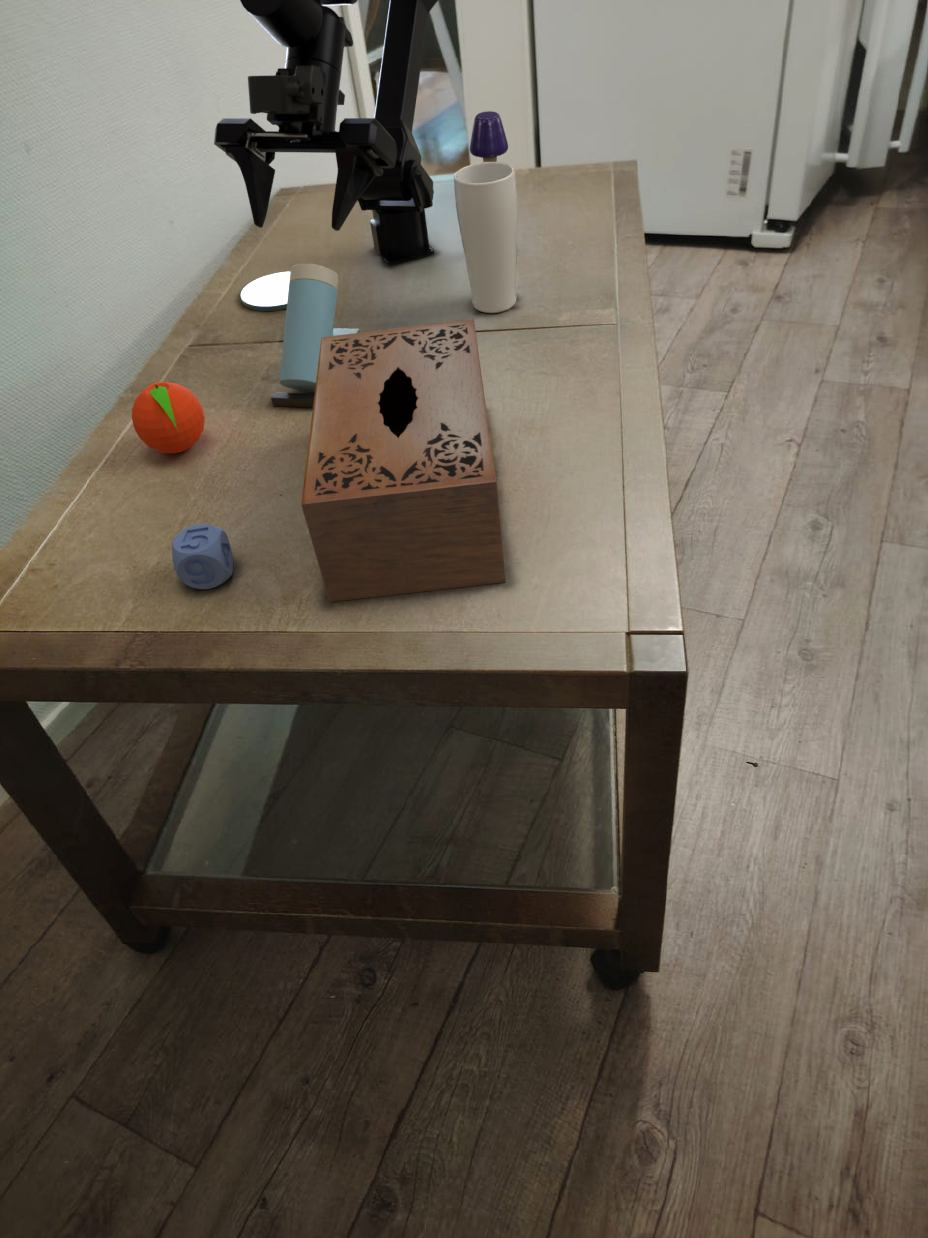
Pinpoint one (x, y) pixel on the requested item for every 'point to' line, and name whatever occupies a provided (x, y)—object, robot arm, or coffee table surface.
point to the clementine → (168, 417)
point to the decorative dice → (202, 556)
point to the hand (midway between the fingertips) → (296, 227)
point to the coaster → (267, 292)
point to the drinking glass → (488, 232)
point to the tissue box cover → (402, 464)
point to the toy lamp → (488, 137)
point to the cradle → (304, 398)
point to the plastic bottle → (307, 323)
